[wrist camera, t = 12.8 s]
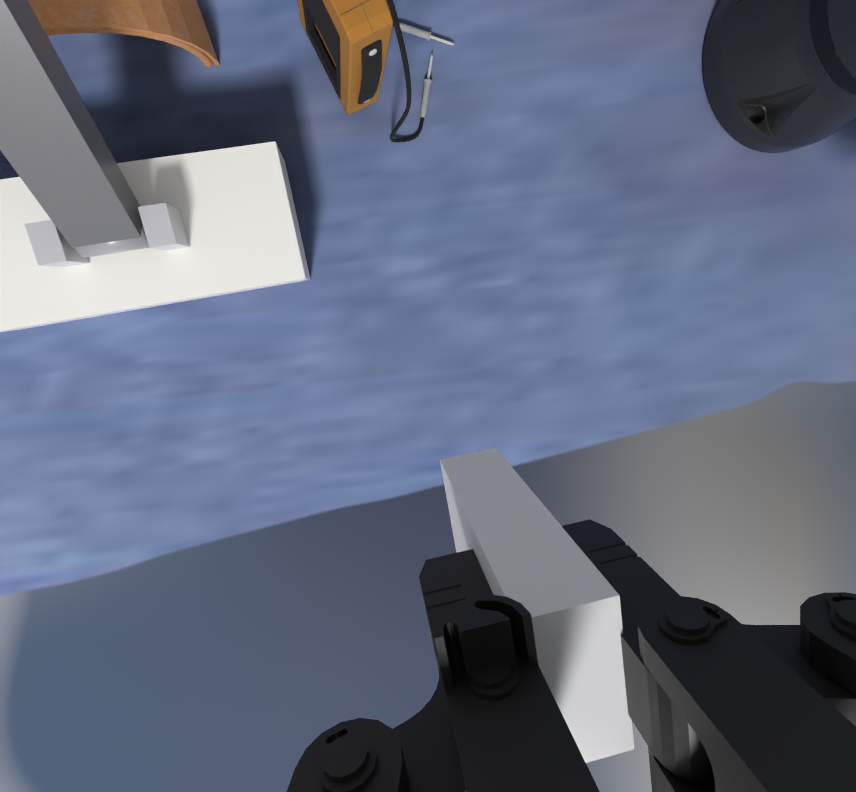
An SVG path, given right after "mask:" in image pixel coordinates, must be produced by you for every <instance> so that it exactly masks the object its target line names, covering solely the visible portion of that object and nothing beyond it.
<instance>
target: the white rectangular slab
mask: <svg viewBox="0 0 856 792" xmlns="http://www.w3.org/2000/svg"><path fill="white" fill-rule="evenodd" d="M117 165H118V166H119V168H120V170H121V172H122V174H123V176H124V177H125V179H126V181H127V183H128V185H129V187H130V188H131V190H132V192H133V194H134V196H135V197H136V199H137V201H138V203H139V205H140V207H138V209H139V213H140V216H141V220H142V223H143V227H144V230H145V234H146V237H147V241H148V244H149V248H144V249H137V250H131V251H125V252H118V253H112V254H106V255H99V256H93V257H87V258H84V257H82V256H80V255H79V254H78V252H77V251H76V249H75V248H71V246H70V245H69V243H68V242H67V241H66V239H65V238H64V237H63V235H62V234H61V232H60V231H59V230H58V228H57V227H56V226H55V224H54V223H53V221H52V220H51V219H50V217H49V216H48V215H47V213H46V212H45V211H44V209H43V208H42V206H41V205H40V204H39V202H38V201H37V200H36V198H35V197H34V195H33V194H32V193H31V191H30V190H29V189H28V187H27V186H26V184H25V183H24V182H23V180H22V179H21V178H20V177H15V178H7V179H0V332H5V331H12V330H19V329H26V328H31V327H37V326H43V325H49V324H55V323H61V322H66V321H72V320H78V319H84V318H90V317H96V316H101V315H107V314H113V313H119V312H125V311H131V310H136V309H142V308H148V307H154V306H160V305H166V304H171V303H177V302H183V301H189V300H195V299H201V298H206V297H212V296H218V295H224V294H230V293H236V292H241V291H247V290H253V289H259V288H265V287H271V286H276V285H282V284H288V283H294V282H300V281H306V280H311V279H310V274H309V270H308V265H307V261H306V256H305V251H304V247H303V242H302V238H301V233H300V228H299V224H298V219H297V215H296V210H295V205H294V201H293V196H292V192H291V187H290V182H289V178H288V173H287V169H286V164H285V161H284V159H283V157H282V154H281V152H280V150H279V148H278V146H277V144H276V142H275V141H274V142H267V143H260V144H253V145H245V146H238V147H231V148H224V149H217V150H209V151H202V152H195V153H188V154H180V155H173V156H166V157H159V158H152V159H144V160H137V161H130V162H123V163H117Z"/></svg>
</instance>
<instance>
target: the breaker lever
mask: <svg viewBox="0 0 856 792" xmlns="http://www.w3.org/2000/svg"><path fill="white" fill-rule="evenodd" d="M0 150H1V152H2V153H3V154H4V156H5V157H6V158H7V160H8V161H9V163H10V164H11V165H12V167H13V168H14V169H15V171H16V172H17V174H18V175H19V176H20V178H21V179H22V180H23V182H24V183H25V184H26V186H27V187H28V189H29V190H30V191H31V193H32V194H33V195H34V197H35V198H36V200H37V201H38V202H39V204H40V205H41V206H42V208H43V209H44V211H45V212H46V213H47V215H48V216H49V217H50V219H51V220H52V221H53V223H54V224H55V226H56V227H57V228H58V230H59V231H60V232H61V234H62V235H63V237H64V238H65V239H66V241H67V242H68V243H69V245H70V246H71V248H75V249H76V251H77V252H78V254H79V255H80V256H82V257H84V258H87V257H93V256H99V255H106V254H112V253H118V252H125V251H131V250H137V249H144V248H149V244H148V241H147V237H146V234H145V230H144V227H143V223H142V220H141V216H140V213H139V209H138V207H140V205H139V203H138V201H137V199H136V197H135V196H134V194H133V192H132V190H131V188H130V187H129V185H128V183H127V181H126V179H125V177H124V176H123V174H122V172H121V170H120V168H119V166H118V165H117V163H116V161H115V159H114V157H113V155H112V154H111V152H110V150H109V148H108V146H107V144H106V143H105V141H104V139H103V137H102V135H101V133H100V132H99V130H98V128H97V126H96V124H95V123H94V121H93V119H92V117H91V115H90V113H89V112H88V110H87V108H86V106H85V104H84V102H83V101H82V99H81V97H80V95H79V93H78V91H77V90H76V88H75V86H74V84H73V82H72V80H71V79H70V77H69V75H68V73H67V71H66V70H65V68H64V66H63V64H62V62H61V60H60V59H59V57H58V55H57V53H56V51H55V49H54V48H53V46H52V44H51V42H50V40H49V38H48V37H47V35H46V33H45V31H44V29H43V27H42V26H41V24H40V22H39V20H38V18H37V16H36V15H35V13H34V11H33V9H32V7H31V6H30V4H29V2H28V0H0Z"/></svg>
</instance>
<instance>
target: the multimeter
mask: <svg viewBox="0 0 856 792" xmlns="http://www.w3.org/2000/svg"><path fill="white" fill-rule="evenodd" d="M297 3H298V9H299V15H300V20H301V23H302V25H303V28H304V30H305V32H306V34H307V36H308V37H309V39H310V41H311V43H312V45H313V47H314V49H315V51H316V53H317V55H318V57H319V59H320V61H321V63H322V65H323V67H324V69H325V71H326V73H327V75H328V77H329V79H330V81H331V83H332V85H333V87H334V89H335V91H336V93H337V95H338V97H339V99H340V102H341V104H342V106H343V108H344V110H345V111H346V113H347V114H352V113H354V112H356V111H358V110H360V109H361V108H363V107H365V106H367V105H369V104H371V103H373V102H375V101H377V100H378V95H379V90H380V86H381V81H382V77H383V72H384V68H385V62H386V57H387V52H388V47H389V42H390V37H391V31H392V26H394V27H395V31H396V35H397V39H398V43H399V47H400V51H401V56H402V61H403V66H404V72H405V79H406V88H407V104H406V109H405V112H404V113H403V115H402V117H401V119H400V120H399V122H398V123H397V125H396V126H395V128H394V129H393V131H392V133H391V135H390V140H391V141H392V142H406V141H410V140H413V139H415V138H416V137H417V136H418V135H419V133H420V132H421V129H422V126H423V121H424V118H425V115H426V111H427V105H428V98H429V92H430V85H431V83H432V80H430V73H431V66H432V59H433V56H432V54H431V57H430V62H429V69H428V75H427V79H424V82H425V83H424V90H423V97H422V104H421V121H420V126H419V129H418V131H417V133H416V134H415V135H414V136H412V137H409V138H403V139H394V138H393V136H394V134H395V133H396V131H397V130H398V128H399V127H400V126H401V124H402V123H403V121H404V120H405V118H406V116H407V114H408V112H409V109H410V105H411V81H410V72H409V65H408V60H407V55H406V49H405V45H404V40H403V36H402V32H401V31H404V32H407V33H410V34H413V35H416V36H419V37H422V38H425V39H427V40H428V41H429V40H430V38H431V39H434V40H437V41H440V42H443V43H446V44H449V45H455V44H453V43H452V42H450V41H447V40H444V39H441V38H438V37H435V36H432V35H431V32H427V31H424V30H421V29H418V28H416V27H413V26H410V25H407V24H404V23H399V21H398V17H397V13H396V10H395V6H394V3H393V0H297Z"/></svg>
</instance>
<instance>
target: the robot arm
mask: <svg viewBox="0 0 856 792" xmlns="http://www.w3.org/2000/svg"><path fill="white" fill-rule="evenodd" d="M703 79H704V86H705V91H706V94H707V98H708V101H709V104H710V106H711V108H712V111H713V113H714V115H715V116H716V118H717V120H718V121H719V123H720V124H721V126H722V127H723V128H724V129H725V131H726V132H727V133H728V134H729V135H730V136H731V137H733V138H734V139H735V140H736V141H738V142H739V143H741V144H743V145H744V146H746V147H748V148H751V149H753V150H757V151H760V152H767V153H780V152H786V151H790V150H794V149H797V148H800V147H804V146H807V145H810V144H813V143H816V142H818V141H820V140H822V139H824V138H827V137H828V136H830V135H832V134H834V133H835V132H836V131H838V130H839V129H841V128H842V127H843V126H845V125H846V124H848V123H849V122H851V121H852V120H853V119H855V118H856V0H720V1H719V3H718V5H717V7H716V9H715V11H714V13H713V15H712V18H711V20H710V23H709V26H708V29H707V33H706V37H705V42H704V49H703ZM440 463H441V469H442V474H443V480H444V485H445V491H446V496H447V501H448V507H449V513H450V519H451V524H452V530H453V535H454V541H455V546H456V552H457V553H453V554H449V555H445V556H441V557H436V558H432V559H428V560H426V561H425V563H424V566H423V568H422V571H421V573H420V575H419V579H420V584H421V589H422V594H423V599H424V604H425V609H426V613H427V618H428V623H429V628H430V633H431V638H432V643H433V647H434V652H435V657H436V661H437V666H438V670H439V681H438V686H437V689H436V691H435V693H434V694H433V696H432V698H431V700H430V701H429V702H428V703H427V704H426V705H425V706H424V708H423V709H422V710H421V711H420V712H418V713H417V714H416V715H414V716H413V717H411V718H410V719H409V720H407V721H405V722H404V723H402V724H400V725H399V726H397V727H395V728H394V729H392V728H390V727H388V726H387V725H385V724H383V723H382V722H380V721H379V720H371V719H364V718H358V719H354V720H349V721H345V722H341V723H339V724H337V725H336V726H334V727H332V728H330V729H328V730H327V731H325V732H323V733H321V734H320V735H319V736H318V737H317V738H316V739H315V740H314V741H313V742H312V743H311V745H309V746H308V747H307V748H306V750H305V751H304V753H303V755H302V757H301V759H300V760H299V762H298V764H297V766H296V768H295V770H294V773H293V776H292V779H291V781H290V784H289V787H288V790H287V792H599V790H598V788H597V786H596V783H595V781H594V779H593V777H592V775H591V773H590V771H589V769H588V767H587V765H586V763H587V762H591V761H594V760H598V759H601V758H605V757H608V756H612V755H615V754H619V753H622V752H626V751H630V750H633V749H634V741H633V731H632V721H633V722H634V724H635V726H636V727H637V729H638V731H639V732H640V734H641V735H642V737H643V738H644V740H645V742H646V743H647V745H648V750H649V761H650V773H651V783H652V792H856V594H851V593H822V594H819V595H816V596H813V597H809V598H808V599H807V600H806V601H805V602H804V603H803V604H802V605H801V606H800V625H745V624H741V623H739V622H738V621H737V620H736V619H735V618H734V617H733V616H732V615H730V614H729V613H727V612H726V611H724V610H723V609H721V608H720V607H718V606H717V605H714V604H712V603H709V602H706V601H703V600H701V599H698V598H690V597H682V596H680V595H679V594H678V593H677V592H675V590H673V589H672V588H671V587H670V586H669V585H668V584H667V583H666V582H665V581H664V580H663V579H662V578H661V577H660V576H659V575H658V574H657V573H656V572H655V571H654V570H653V569H652V568H651V567H650V566H649V565H648V564H647V563H646V562H645V561H644V560H643V559H641V557H637V554H636V553H635V552H634V551H633V550H632V549H631V548H630V547H629V546H628V545H626V544H625V542H624V541H623V540H622V539H621V538H620V537H619V536H618V535H617V534H616V533H615V532H614V531H613V530H611V529H610V528H608V527H606V526H603V525H601V524H599V523H596V522H594V521H592V520H585V521H581V522H577V523H573V524H569V525H564V526H561V525H560V524H559V523H558V522H557V521H556V519H555V518H554V517H553V516H552V514H551V513H550V512H549V511H548V510H547V509H546V507H545V506H544V505H543V504H542V503H541V501H540V500H539V499H538V498H537V497H536V495H534V493H533V492H532V491H531V490H530V488H529V487H528V486H527V485H526V483H525V482H524V481H523V480H522V479H521V478H520V477H519V475H518V474H517V473H516V472H515V470H514V469H513V468H512V467H511V466H510V464H509V463H508V462H507V461H506V460H505V458H504V457H503V456H502V455H501V454H500V453H499V451H498V450H497V449H496V448H491V449H487V450H482V451H478V452H473V453H468V454H464V455H459V456H455V457H450V458H445V459H441V460H440ZM631 719H632V720H631Z"/></svg>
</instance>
